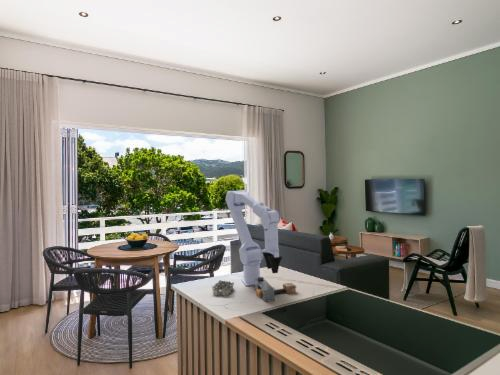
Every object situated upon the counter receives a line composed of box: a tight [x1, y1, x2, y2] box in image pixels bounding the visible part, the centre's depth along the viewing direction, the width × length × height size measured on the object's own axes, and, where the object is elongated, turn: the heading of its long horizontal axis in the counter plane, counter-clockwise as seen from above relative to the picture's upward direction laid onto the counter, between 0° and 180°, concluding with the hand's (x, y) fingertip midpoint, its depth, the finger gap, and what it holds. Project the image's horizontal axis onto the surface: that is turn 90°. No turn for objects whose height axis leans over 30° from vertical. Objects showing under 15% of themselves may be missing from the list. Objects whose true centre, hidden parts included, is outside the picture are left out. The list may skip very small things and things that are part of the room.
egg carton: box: [211, 280, 235, 296], centre depth 148 cm, size 11×8×4 cm
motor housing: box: [254, 276, 275, 302], centre depth 142 cm, size 16×4×5 cm, turn 13°
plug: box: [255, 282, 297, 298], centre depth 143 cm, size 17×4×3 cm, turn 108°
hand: (272, 270), depth 147 cm, fingers open, 7 cm apart
